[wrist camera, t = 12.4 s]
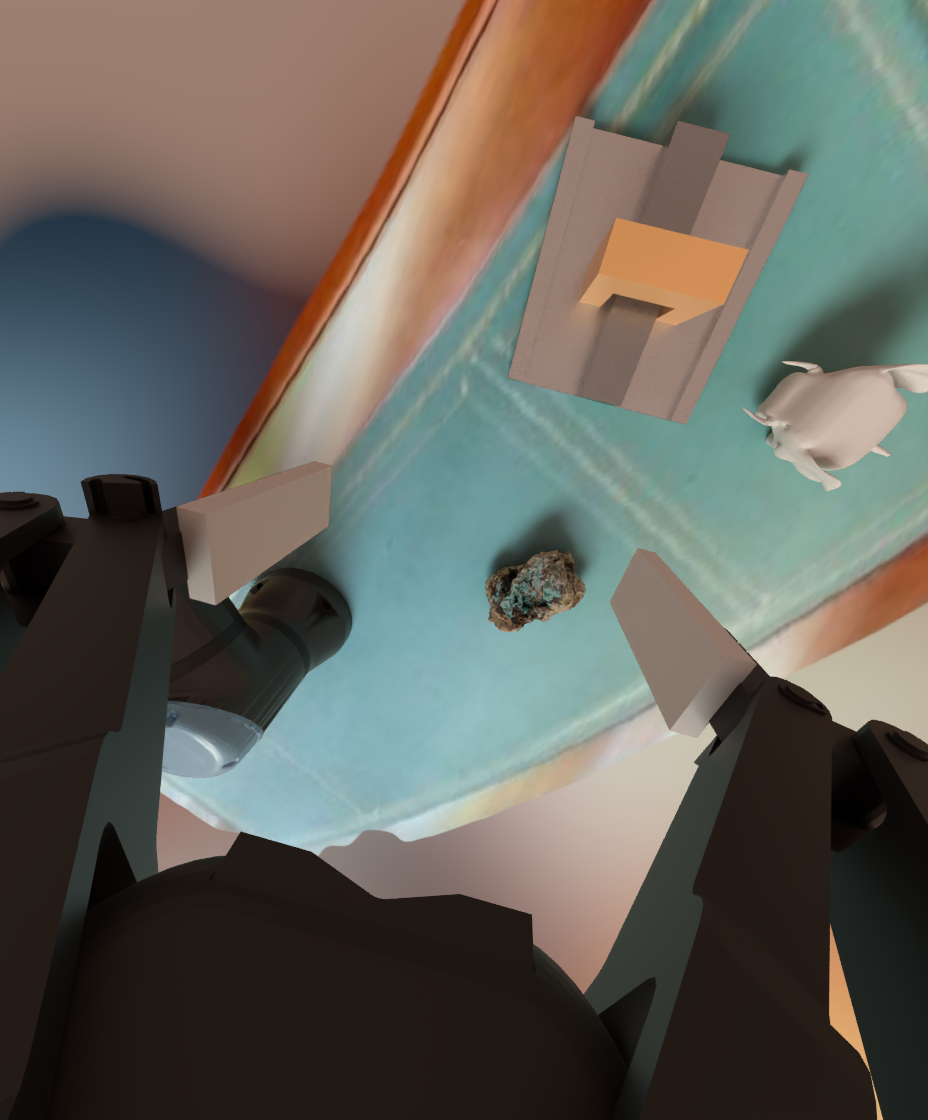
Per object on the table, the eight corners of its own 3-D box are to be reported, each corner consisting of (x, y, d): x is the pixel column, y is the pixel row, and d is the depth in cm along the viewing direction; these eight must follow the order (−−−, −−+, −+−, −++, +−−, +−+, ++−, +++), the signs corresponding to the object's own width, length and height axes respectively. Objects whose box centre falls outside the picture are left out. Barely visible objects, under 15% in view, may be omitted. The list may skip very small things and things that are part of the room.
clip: (579, 301, 32) (598, 273, 24) (591, 260, 30) (616, 217, 23) (675, 325, 31) (723, 304, 24) (692, 284, 30) (749, 249, 23)
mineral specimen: (563, 531, 41) (543, 565, 35) (598, 593, 43) (586, 635, 37) (485, 562, 49) (458, 594, 43) (518, 614, 51) (497, 651, 45)
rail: (508, 378, 36) (507, 376, 32) (572, 130, 28) (580, 96, 25) (678, 423, 35) (695, 425, 32) (793, 185, 27) (829, 158, 24)
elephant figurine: (787, 333, 31) (880, 311, 23) (888, 401, 32) (1010, 402, 24) (706, 432, 35) (762, 442, 27) (798, 489, 37) (878, 515, 29)
